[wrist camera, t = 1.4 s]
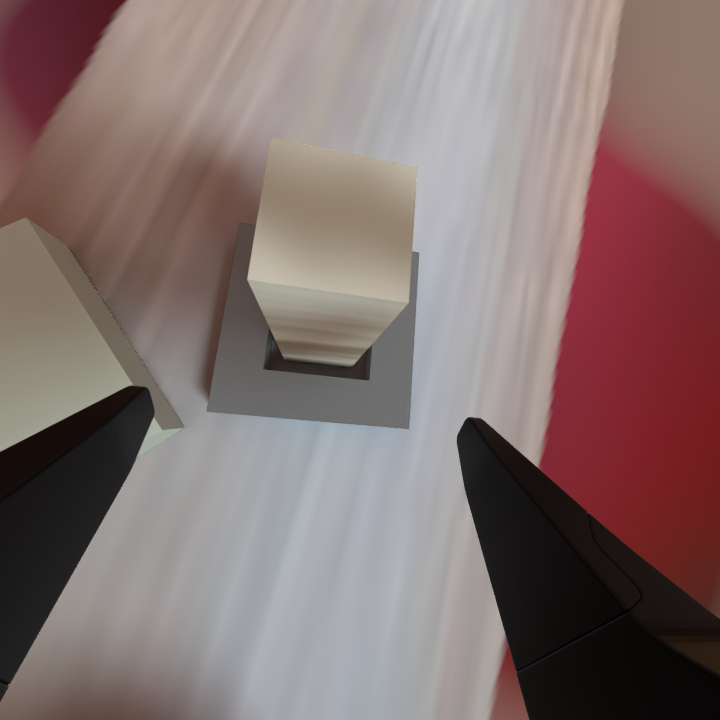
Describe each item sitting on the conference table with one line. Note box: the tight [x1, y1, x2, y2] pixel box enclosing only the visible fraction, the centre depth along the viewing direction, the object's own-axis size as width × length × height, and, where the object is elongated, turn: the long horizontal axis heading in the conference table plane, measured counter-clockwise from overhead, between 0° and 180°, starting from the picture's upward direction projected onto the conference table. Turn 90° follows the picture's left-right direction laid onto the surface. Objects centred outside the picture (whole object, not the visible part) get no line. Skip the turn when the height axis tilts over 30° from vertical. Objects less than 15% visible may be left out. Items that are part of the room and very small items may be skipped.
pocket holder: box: [207, 223, 419, 429], centre depth 21 cm, size 12×12×2 cm
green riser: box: [0, 217, 184, 457], centre depth 17 cm, size 14×12×3 cm
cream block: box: [247, 137, 417, 368], centre depth 15 cm, size 4×4×13 cm
